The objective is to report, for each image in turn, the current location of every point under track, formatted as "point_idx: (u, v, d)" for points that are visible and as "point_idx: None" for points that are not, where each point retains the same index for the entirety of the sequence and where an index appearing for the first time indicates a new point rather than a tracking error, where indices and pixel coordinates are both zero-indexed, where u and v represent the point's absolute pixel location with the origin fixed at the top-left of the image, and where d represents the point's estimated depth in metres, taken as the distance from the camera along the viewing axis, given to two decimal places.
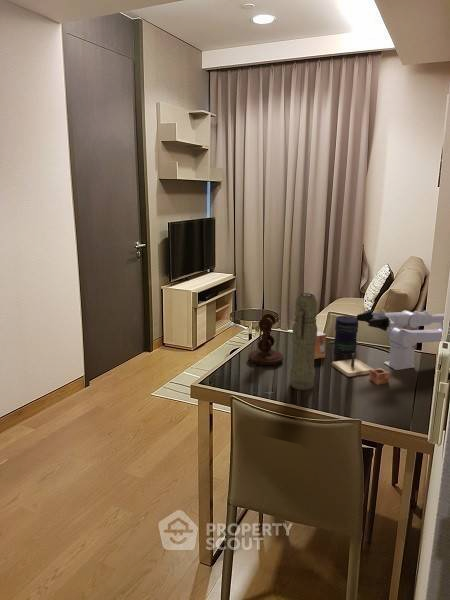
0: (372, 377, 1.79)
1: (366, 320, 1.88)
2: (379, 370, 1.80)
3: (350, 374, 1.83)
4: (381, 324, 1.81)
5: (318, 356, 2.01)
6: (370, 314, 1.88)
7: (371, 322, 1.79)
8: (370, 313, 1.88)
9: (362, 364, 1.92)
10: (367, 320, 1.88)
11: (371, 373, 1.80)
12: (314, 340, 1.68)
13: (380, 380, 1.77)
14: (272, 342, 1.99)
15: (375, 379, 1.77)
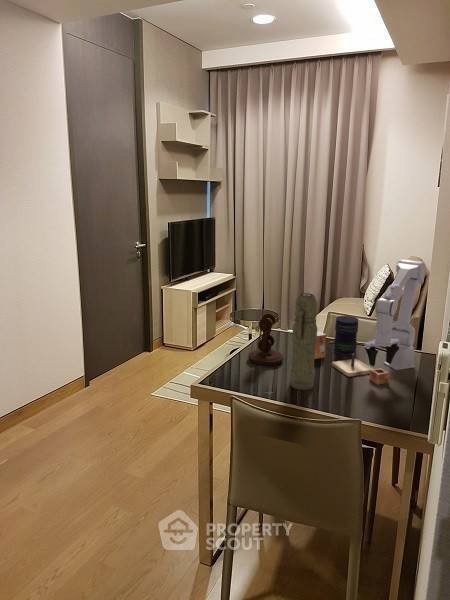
0: (372, 377, 1.79)
1: None
2: (379, 370, 1.80)
3: (350, 374, 1.83)
4: None
5: (318, 356, 2.01)
6: None
7: None
8: None
9: (362, 364, 1.92)
10: None
11: (371, 373, 1.80)
12: (314, 340, 1.68)
13: (380, 380, 1.77)
14: (272, 342, 1.99)
15: (375, 379, 1.77)
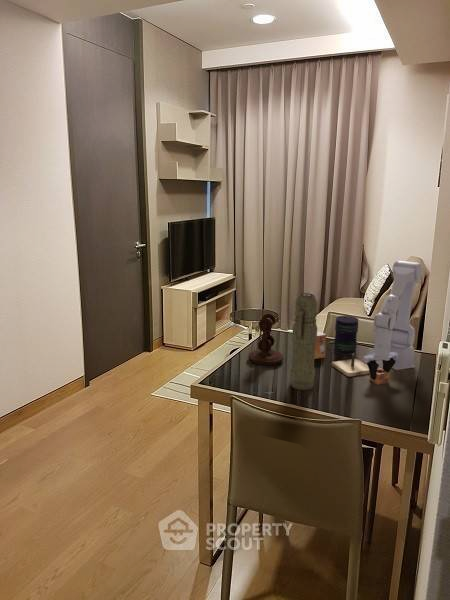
0: None
1: None
2: (379, 370, 1.80)
3: (350, 374, 1.83)
4: None
5: (318, 356, 2.01)
6: None
7: None
8: None
9: (362, 364, 1.92)
10: None
11: None
12: (314, 340, 1.68)
13: (380, 380, 1.77)
14: (272, 342, 1.99)
15: (375, 379, 1.77)
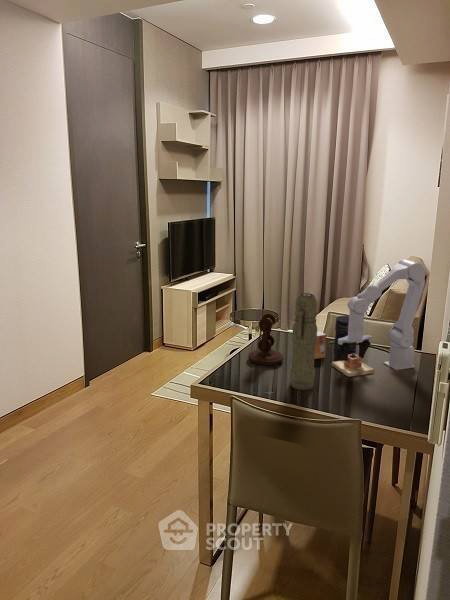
0: (346, 362, 1.90)
1: None
2: None
3: (350, 374, 1.83)
4: None
5: (318, 356, 2.01)
6: None
7: None
8: None
9: (362, 364, 1.92)
10: None
11: None
12: (314, 340, 1.68)
13: (353, 365, 1.87)
14: (272, 342, 1.99)
15: (349, 363, 1.88)
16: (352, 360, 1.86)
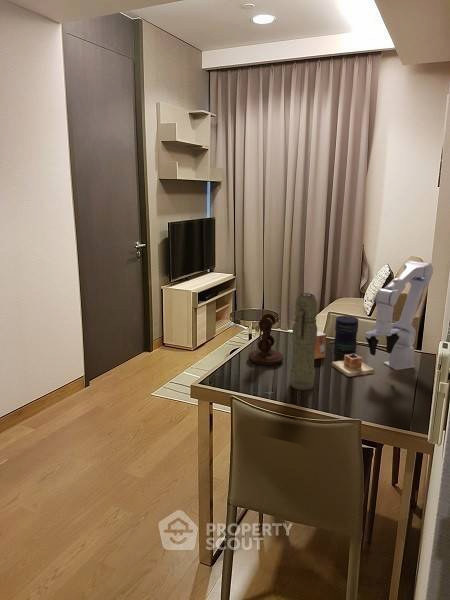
0: (346, 362, 1.90)
1: None
2: None
3: (350, 374, 1.83)
4: None
5: (318, 356, 2.01)
6: None
7: None
8: None
9: (362, 364, 1.92)
10: None
11: (345, 358, 1.90)
12: (314, 340, 1.68)
13: (353, 365, 1.87)
14: (272, 342, 1.99)
15: (349, 363, 1.88)
16: (352, 360, 1.86)
